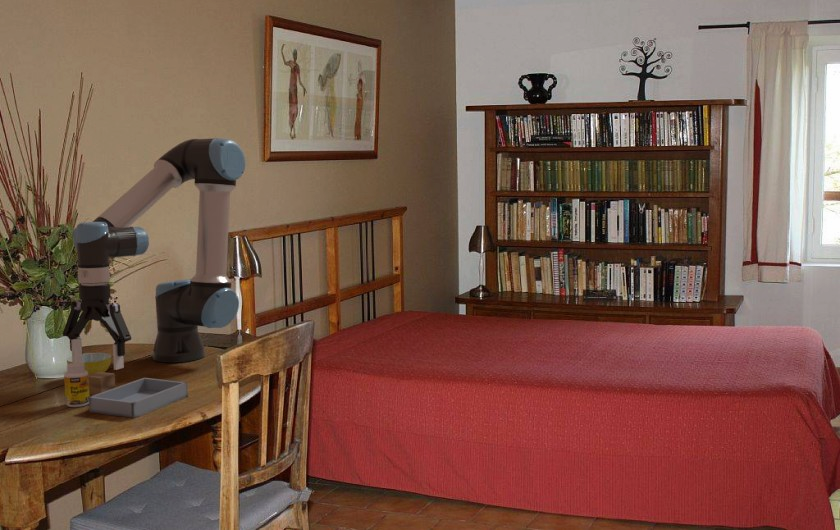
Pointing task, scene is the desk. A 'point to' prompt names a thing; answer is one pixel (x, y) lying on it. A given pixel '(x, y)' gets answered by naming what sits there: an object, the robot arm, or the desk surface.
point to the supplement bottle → (76, 385)
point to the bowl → (94, 362)
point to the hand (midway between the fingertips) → (97, 366)
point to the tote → (138, 397)
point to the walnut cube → (101, 382)
